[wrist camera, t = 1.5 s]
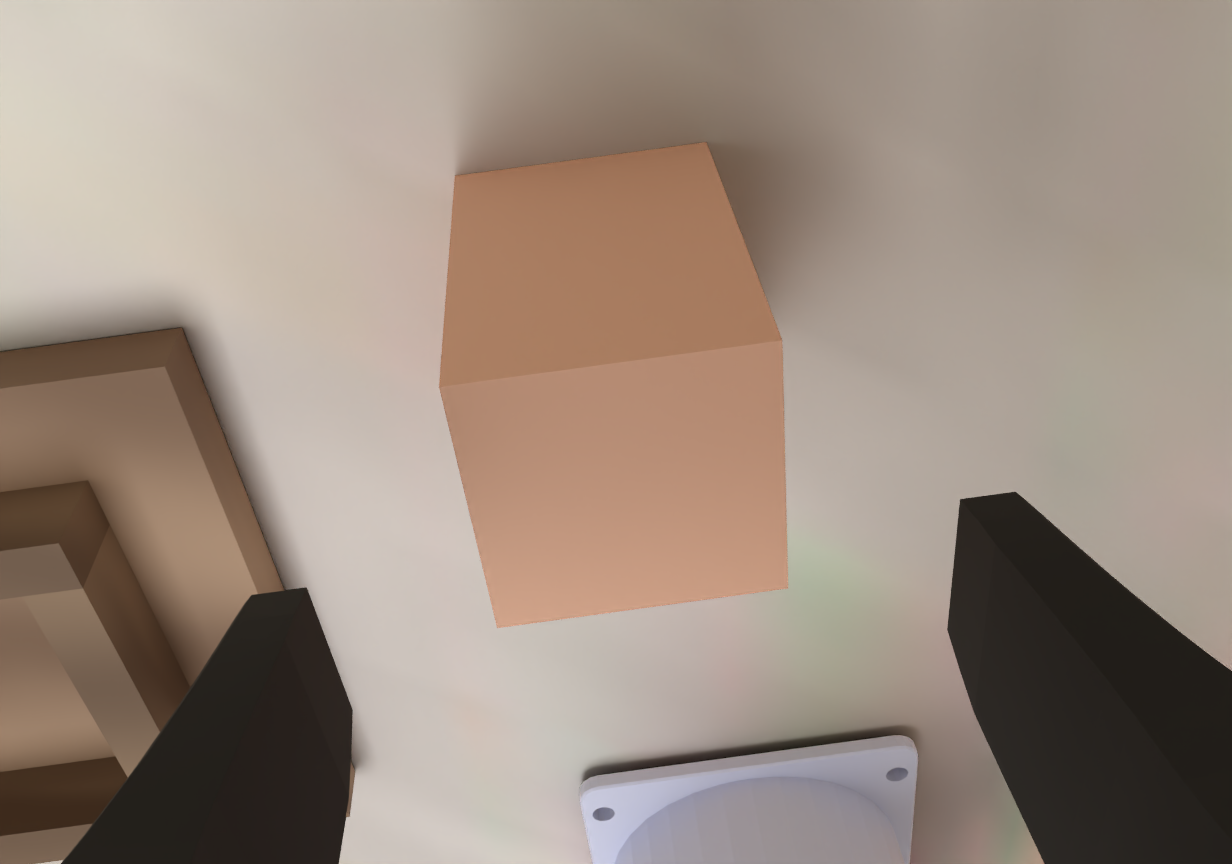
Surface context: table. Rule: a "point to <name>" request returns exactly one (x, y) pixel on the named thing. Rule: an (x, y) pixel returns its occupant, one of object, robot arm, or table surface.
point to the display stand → (108, 570)
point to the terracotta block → (613, 387)
